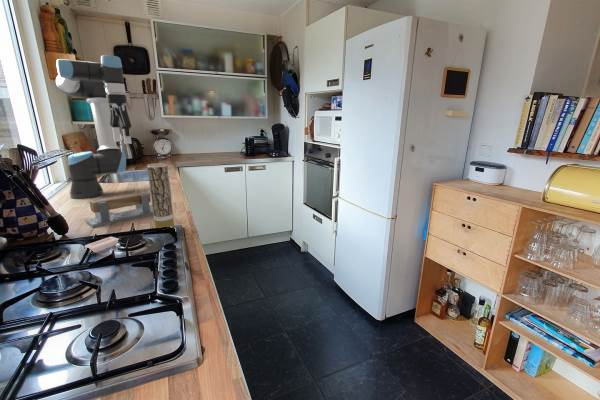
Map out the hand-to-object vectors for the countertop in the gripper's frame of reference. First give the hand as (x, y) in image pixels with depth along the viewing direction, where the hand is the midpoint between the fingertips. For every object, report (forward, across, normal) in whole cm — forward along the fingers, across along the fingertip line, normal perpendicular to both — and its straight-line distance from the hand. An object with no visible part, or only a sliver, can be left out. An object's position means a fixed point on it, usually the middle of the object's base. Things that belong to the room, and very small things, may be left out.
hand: (122, 142), depth 141 cm
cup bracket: (+30, +17, -9) cm, 36 cm away
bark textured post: (+30, +43, -3) cm, 53 cm away
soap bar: (+30, +47, -24) cm, 61 cm away
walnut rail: (+25, +17, -9) cm, 32 cm away
